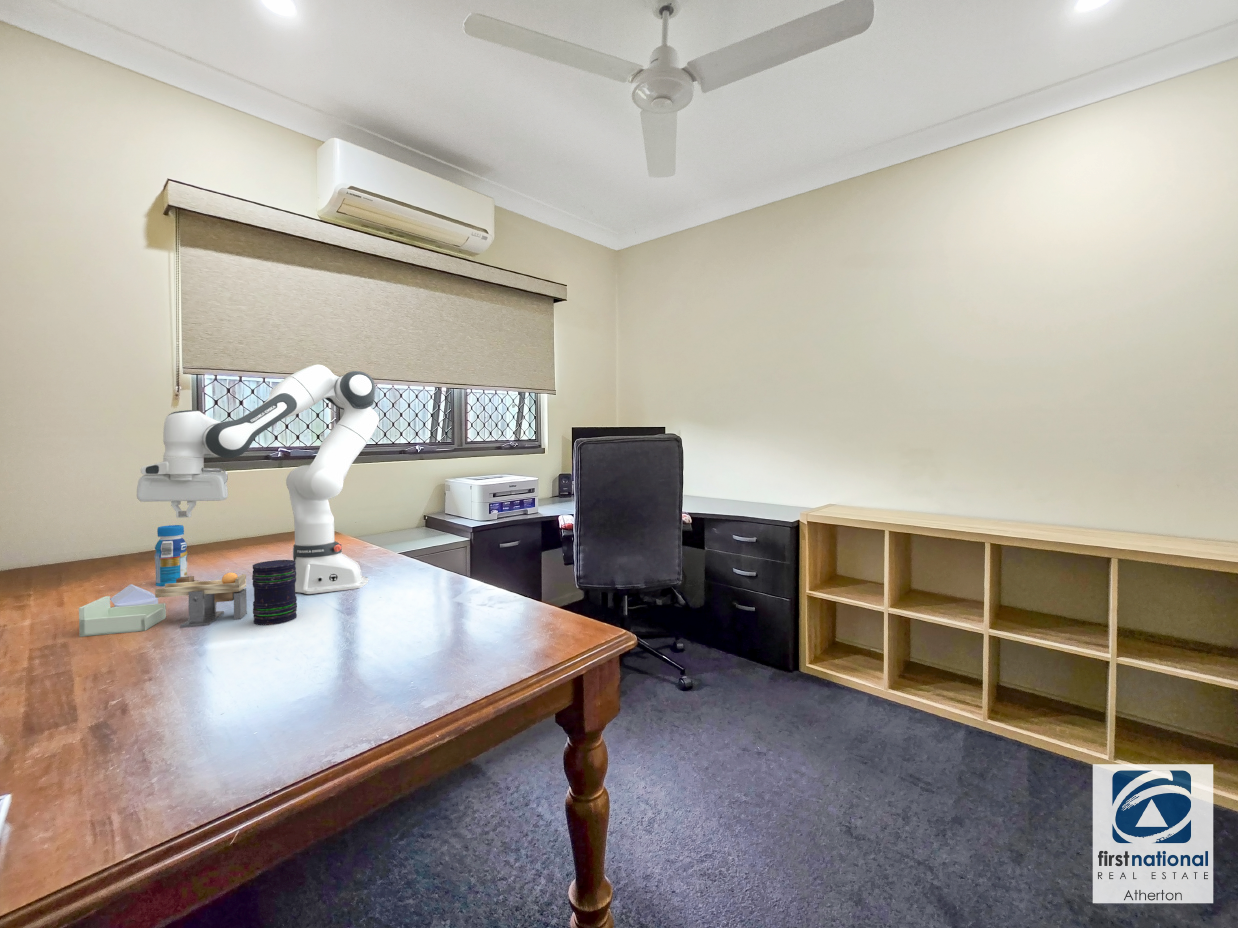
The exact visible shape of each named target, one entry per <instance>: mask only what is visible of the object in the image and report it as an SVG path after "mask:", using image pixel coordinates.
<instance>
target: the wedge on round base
mask: <svg viewBox="0 0 1238 928" xmlns="http://www.w3.org/2000/svg"><path fill="white" fill-rule="evenodd" d="M110 602H112V603H113V607H123V606H135V605H148V604H159V598H155V594H154V593H153V592H152V591H148V590H147V589H144V588H141V587H139V586H136V585H135V584H132V583H131V584H128V585H127V586H126V587H124V588H123V589H122V590H120V591H119V592H118V593H116V594H115V595H113V596H112V597H110Z"/></svg>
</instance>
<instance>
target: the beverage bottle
mask: <svg viewBox="0 0 1238 928" xmlns="http://www.w3.org/2000/svg"><path fill="white" fill-rule="evenodd" d="M156 534H157V537H158V538H159V539H158V540H157V542H156V543H155V545H154V550H155V554H154V563H155V586H156V587H165V584H170V583H176V579H178V578H180V577H188V555H189V554H188V553H189V552H188V550H187V547H188V544H187V542H186V540H185V539H184V538H183V536H184V535H185V527H184V525H183V524H175V525H174V524H172V525H171V524H169V525H162V526H161V525H160V526H158V527H157V533H156Z"/></svg>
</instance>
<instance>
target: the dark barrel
mask: <svg viewBox="0 0 1238 928" xmlns="http://www.w3.org/2000/svg"><path fill="white" fill-rule="evenodd" d="M295 565H296V561H294V560H293V559H274V560H268V561H261V562H257V563H254V564H252V576H251V578H252V588H253V599H254V600H253V602H252V607H253V608H252V614H253V624H254V625H255V626H274V625H279V624H285V623H289V622H291V621H293V620H296V619H297V617H298V616H297V611H298V610H297V608H298V602H297V600H298V598H297V596H296V592H295V583H296V566H295Z"/></svg>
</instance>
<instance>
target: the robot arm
mask: <svg viewBox="0 0 1238 928" xmlns="http://www.w3.org/2000/svg"><path fill="white" fill-rule="evenodd" d="M375 392H376V385H375V380H374V379H373V378H372V376H370V374H368V373H367V372H364V371H361V370H352V371H349V372H346V374H344V375H342V376H338V375H336V374H334V373H333V372H332V370H330V369H329V368H328V367H327V366H325V365H322V364H312V365H310V366H307V367H305V368H303V369H300V370H298V371H296V372H294V373H292V374H291V375H288V376H287V377H285V378H284V379H282V380H281V381H280V382H278V383H277V384H276V385H275V386H274V387H273V388H271V390H270V392H269V396H268V398H267V399H266V401H265V402H263V403H262V404H260V405H259V406H258V407H256V408H254V409H253V410H251V411H249V412H248V413H246V414H244V415H243V416H241V417H239V418H237V419H233V420H226V421H219V420H216V419H215V418H212V417H211V416H208V415H206V414H204V413H202V412H201V411H200V410H197V409H189V410H188V409H187V410H179V411H173V412H171V413H168V414H167V416H166V417H165V420H164V424H163V431H162V433H163V439H162V441H163V442H162V443H163V445H164V452H163V455H162V461H161V462H156V463H153V464H149V465H144V466H142V467H141V468H140V474H141V475H142V476H141V477H139V479H138V481H137V487H136V499H137V500H138V501H140V502H141V503H143V502H144V503H145V502H170V506H171V507H172V509H173V510H174V512H175V517H176V518H177V519H178V518H179V519H181V518H191V517H192V511H193V510H194V508H195V507H196V506H197V502H203V501H206V502H209V501H210V502H214V501H215V502H216V501H218V502H219V501H225V500H226V499H227V498H228V496H229V491H228V489H229V488H228V484H227V482H228V475H229V474H228V472H227V471H226V470H225V469H222V467H221V468H220V467H216V468H215V467H214V468H213V467H205V465H204V463H205V460H204V459H205V458H204V456H205V455H206V454H209V455H212V456H215V457H221V458H224V459H225V458H226V459H232V458H233V459H234V458H237V457H240V456H241V455H243V454H246V452H247V451H248V450H249V449H250V447H251V445H252V444H253V442H254V441H255V439H256V438H257V437H258V436H259V435H261V434H262V433H263V432H265V431H266V430H268V429H270V428H271V427H273V426H274V425H275V424H277V423H279V422H280V421H282V420H284V419H286V418H289V417H293V416H295V415H298V414H300V413H302V412H305V411H307V410H308V409H310V408H312V407H313V406H315V405H316V404H318V403H319V402H321V401H323V400H326V401H327V402H329V403H331V405H333V406H334V407H336V408H338V409H340V410H344V411H343V415H342V417H341V418H340V420H338V422H337V423H336V424H335V425H334V426H333V428H332V429H331V430H330V432H329V433H328V434H327V436H326V437H325V438H324V439H323V440H322V441H321V443H320V446H319V450H318V452H317V453H316V456H315V457H314V460H313V461H312V462H311V463H310V464H305V465H300V466H298V467H295V468H293V470H291V471H290V472H289V473H288V474H287V476H286V479H285V485H286V487H287V489H288V493H289V498H290V499H289V500H290V506H291V509H292V514H293V523H294V544H293V548H292V560H294V561H296V565H295V566H296V583H295V593H300V594H301V593H302V594H305V595H312V594H314V595H315V594H321V593H322V594H323V593H329V592H330V593H331V592H337V591H346V590H355V589H356V590H357V589H360V588H363V586H364V585H365V586H367V585H368V584H369V582H368V581H370V579H369V577H367V576H365V575H364V576H363V575H362V571H361V570H362V569H361V566H360V564H359V563H358V562H357V561H356V560H354V559H352V558H351V557H349V556H347V555H346V554H344V553H342V550H343V548H342V547H343V546H342V545H343V544H342V543H341V542H338V541H336V540H335V517H334V514H333V512H332V510H331V505H330V502H329V500H331V499H334V498H336V497H337V496H338V495H339V494H340V493H341V492H342V490H343V488H344V482H345V479H346V477H347V475H348V473H349V471H350V468H351V467H352V465H353V463H354V461H355V460H356V458H357V457H358V456H359V454H360V453H361V452H362V450H363V449H364V448H365V447H366V446H367V444H368V443H369V441H370V440H371V438H372V437H373V435H374V434H375V431H376V429H377V427H378V425H379V422H380V417H379V415H378V413H377V412H376V411H375V410H374V409H373V408H371V407H372V406H373V405H374V403H375V401H374V400H375ZM181 502H186V504H187V506H188V507H187V508H186V510H182V509H181V507H180V505H181ZM365 577H367V578H365ZM366 584H367V585H366ZM365 586H364V587H365Z"/></svg>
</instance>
